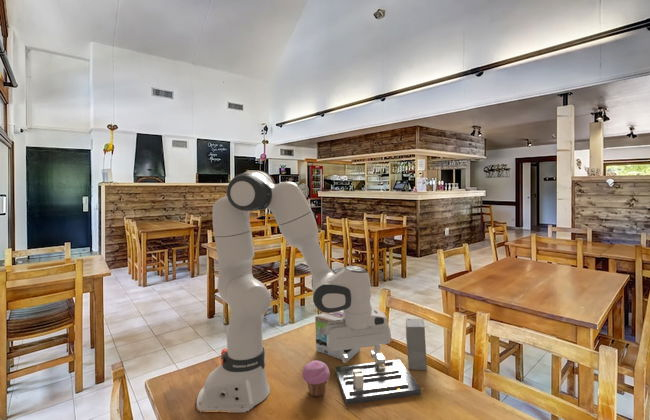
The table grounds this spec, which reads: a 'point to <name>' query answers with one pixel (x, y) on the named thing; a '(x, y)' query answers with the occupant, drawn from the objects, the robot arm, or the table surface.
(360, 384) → the fader knob
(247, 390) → the robot arm
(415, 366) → the skincare box
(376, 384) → the console
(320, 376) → the cupcake
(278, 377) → the table surface
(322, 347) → the tea box
